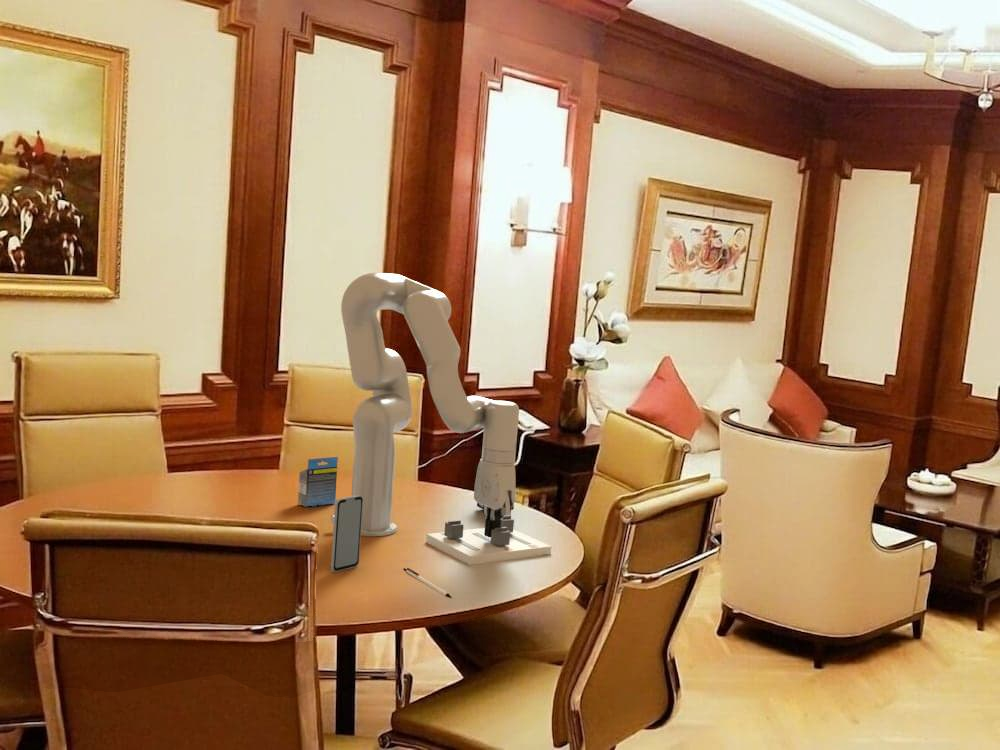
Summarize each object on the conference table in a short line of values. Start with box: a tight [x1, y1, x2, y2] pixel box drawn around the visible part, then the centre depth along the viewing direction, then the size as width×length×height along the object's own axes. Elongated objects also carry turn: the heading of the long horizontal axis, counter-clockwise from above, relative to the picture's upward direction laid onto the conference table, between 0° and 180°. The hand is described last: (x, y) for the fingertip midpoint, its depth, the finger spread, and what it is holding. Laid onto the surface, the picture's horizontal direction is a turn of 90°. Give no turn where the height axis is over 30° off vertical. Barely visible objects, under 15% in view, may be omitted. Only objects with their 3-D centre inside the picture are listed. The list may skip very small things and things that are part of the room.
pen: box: [403, 567, 453, 599], centre depth 203 cm, size 1×19×1 cm, turn 34°
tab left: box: [443, 519, 464, 539], centre depth 230 cm, size 3×3×4 cm
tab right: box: [500, 515, 515, 532], centre depth 238 cm, size 3×3×4 cm
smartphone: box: [330, 495, 363, 573], centre depth 207 cm, size 7×1×15 cm, turn 142°
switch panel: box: [425, 527, 552, 566], centre depth 231 cm, size 22×18×2 cm
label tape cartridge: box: [297, 456, 339, 508], centre depth 258 cm, size 9×4×12 cm, turn 132°
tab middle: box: [491, 527, 510, 546], centre depth 227 cm, size 3×3×4 cm
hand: (491, 535), depth 230 cm, fingers closed
